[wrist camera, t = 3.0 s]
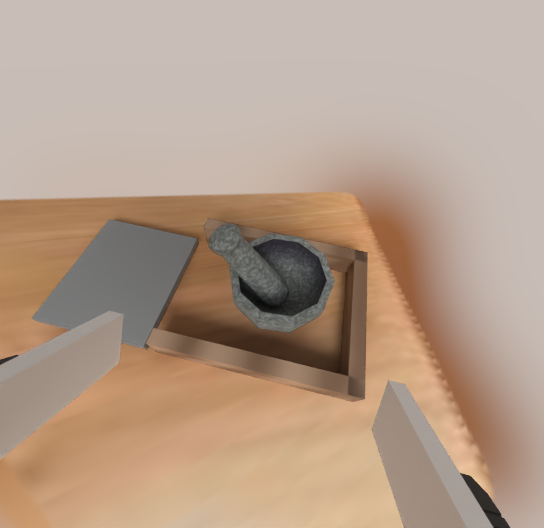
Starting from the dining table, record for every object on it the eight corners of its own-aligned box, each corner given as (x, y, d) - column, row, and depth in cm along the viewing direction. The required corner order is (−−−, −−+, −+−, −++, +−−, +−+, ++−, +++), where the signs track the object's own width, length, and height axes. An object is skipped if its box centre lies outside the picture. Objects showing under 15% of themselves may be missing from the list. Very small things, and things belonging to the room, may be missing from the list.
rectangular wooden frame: (156, 351, 26) (145, 343, 23) (211, 233, 34) (208, 218, 32) (353, 401, 24) (364, 398, 22) (358, 265, 33) (367, 252, 31)
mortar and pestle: (319, 275, 32) (349, 205, 22) (317, 351, 27) (356, 304, 17) (230, 263, 32) (220, 187, 22) (211, 336, 27) (187, 281, 17)
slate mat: (38, 321, 27) (31, 318, 26) (113, 224, 34) (109, 219, 33) (146, 349, 26) (143, 346, 25) (198, 243, 33) (197, 238, 33)
